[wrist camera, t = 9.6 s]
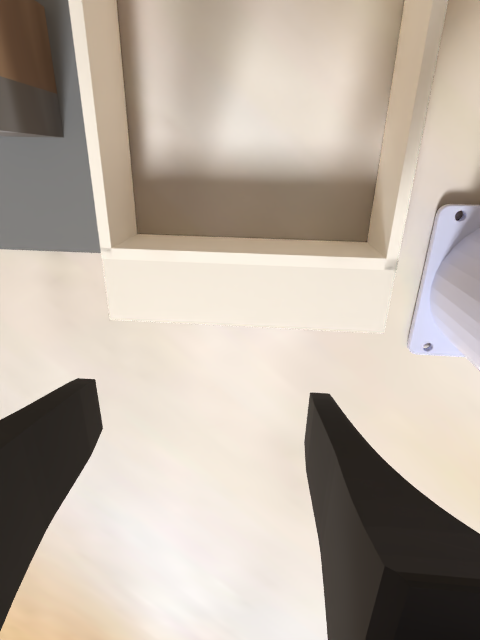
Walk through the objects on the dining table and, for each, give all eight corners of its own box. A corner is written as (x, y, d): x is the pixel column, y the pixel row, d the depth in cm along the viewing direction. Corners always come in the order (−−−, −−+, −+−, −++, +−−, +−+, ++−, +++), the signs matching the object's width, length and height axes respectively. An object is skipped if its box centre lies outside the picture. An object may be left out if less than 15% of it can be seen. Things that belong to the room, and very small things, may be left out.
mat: (61, -173, 14) (56, -182, 13) (111, 251, 20) (109, 253, 20) (-114, -166, 14) (-124, -175, 14) (-11, 246, 21) (-16, 248, 20)
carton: (467, -300, 12) (538, -467, 9) (366, 306, 20) (384, 333, 17) (77, -279, 13) (13, -425, 10) (134, 295, 21) (109, 319, 18)
